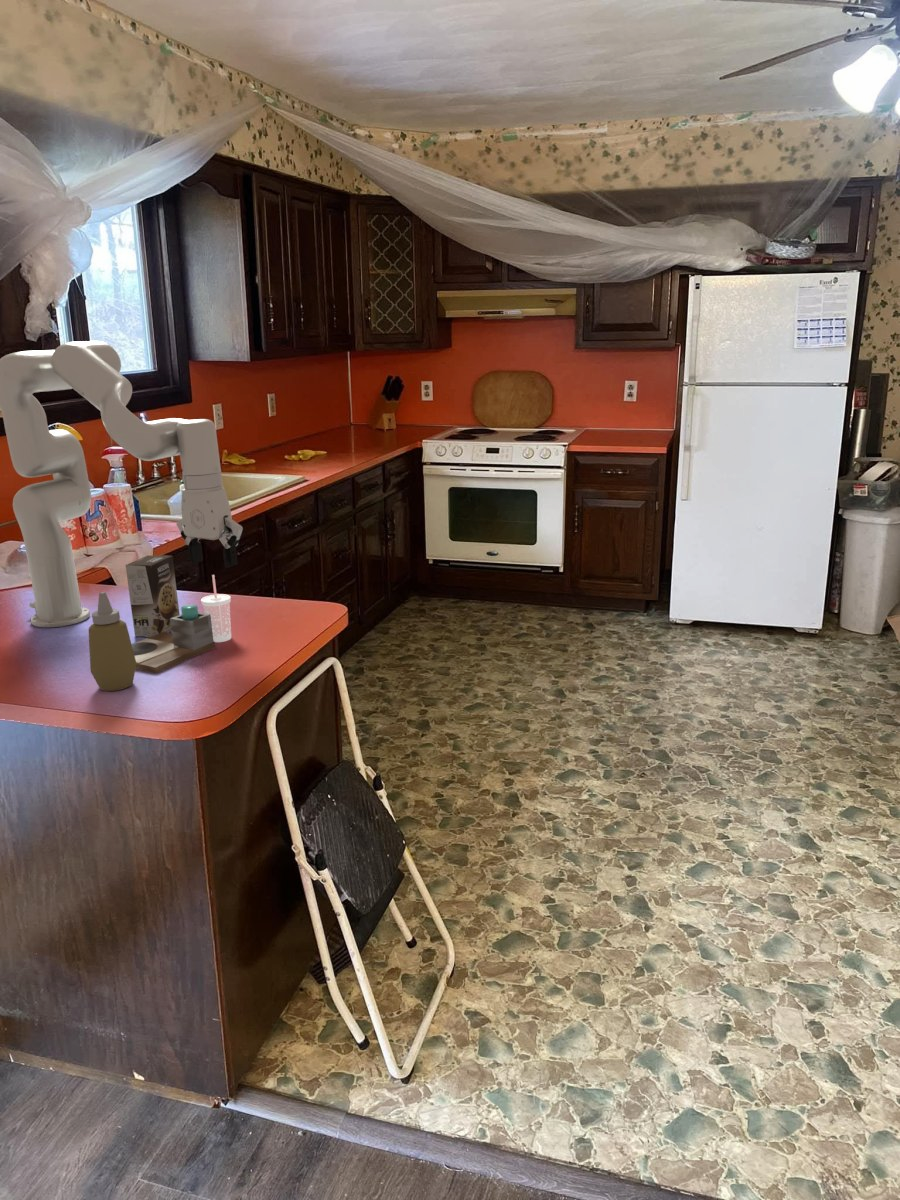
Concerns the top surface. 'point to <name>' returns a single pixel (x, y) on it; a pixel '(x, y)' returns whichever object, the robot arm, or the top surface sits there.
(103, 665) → the squeeze bottle
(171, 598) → the coffee box
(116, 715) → the top surface
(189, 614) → the button
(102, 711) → the top surface
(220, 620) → the beverage cup
